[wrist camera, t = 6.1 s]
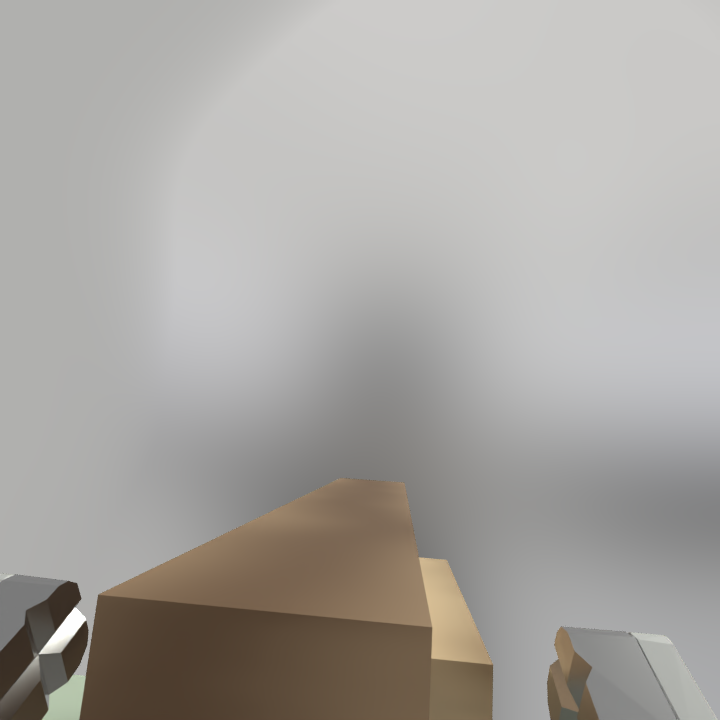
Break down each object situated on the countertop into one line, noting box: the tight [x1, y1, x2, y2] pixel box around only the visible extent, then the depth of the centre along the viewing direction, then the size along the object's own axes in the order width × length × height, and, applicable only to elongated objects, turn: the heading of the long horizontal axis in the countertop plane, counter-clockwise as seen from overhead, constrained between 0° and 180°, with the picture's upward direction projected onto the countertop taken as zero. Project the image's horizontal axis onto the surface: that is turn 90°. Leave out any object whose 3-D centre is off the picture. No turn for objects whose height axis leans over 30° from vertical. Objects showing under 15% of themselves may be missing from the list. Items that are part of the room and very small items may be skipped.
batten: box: [79, 478, 432, 720], centre depth 15 cm, size 4×22×4 cm, turn 176°
